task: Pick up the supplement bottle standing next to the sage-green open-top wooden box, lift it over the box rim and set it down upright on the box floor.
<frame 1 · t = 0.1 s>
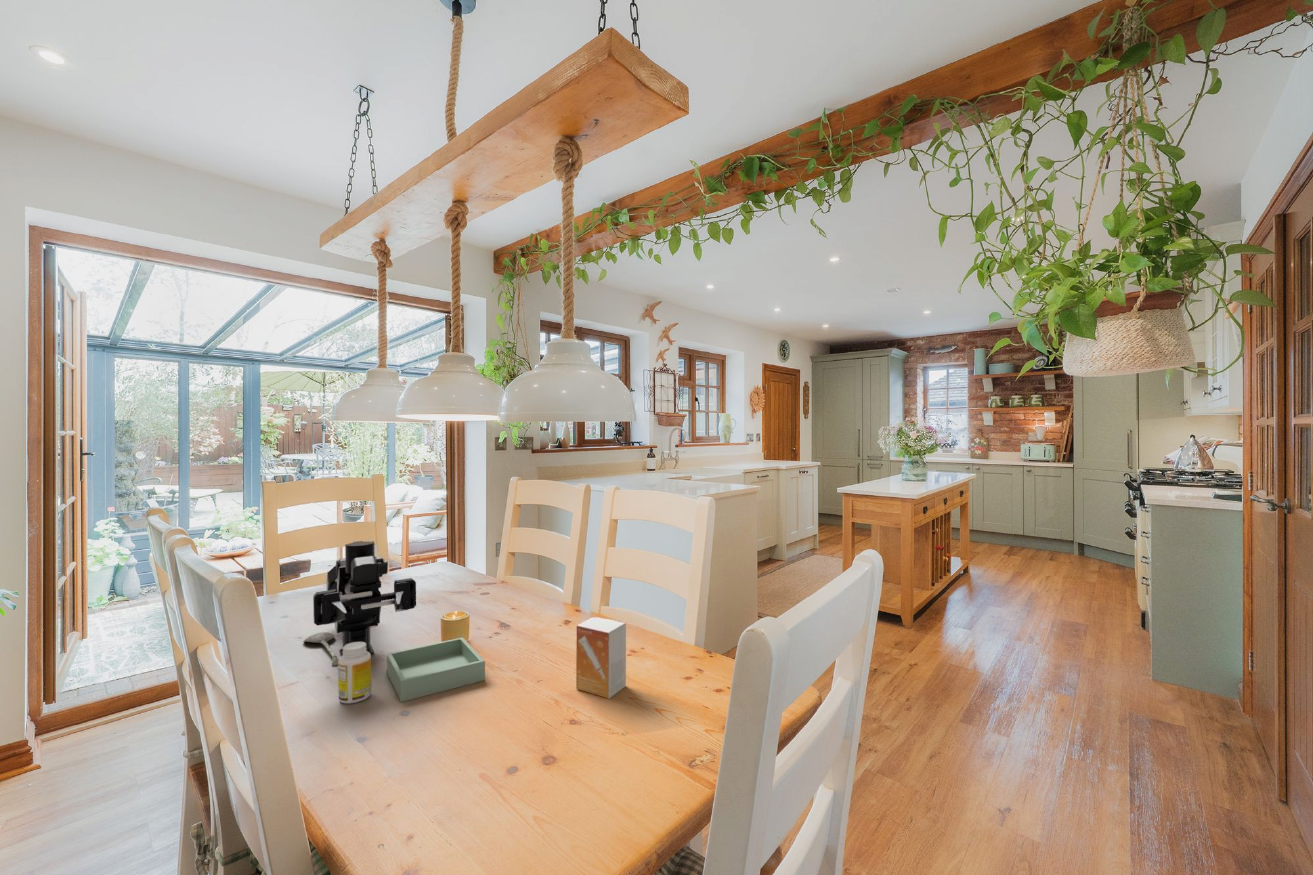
hand: (372, 611, 106), 17 cm above the table, tool horizontal, fingers open, 9 cm apart
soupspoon: (325, 653, 129), on the table
open box: (435, 675, 115), on the table
small box: (601, 689, 110), on the table
supplement bottle: (355, 698, 106), on the table
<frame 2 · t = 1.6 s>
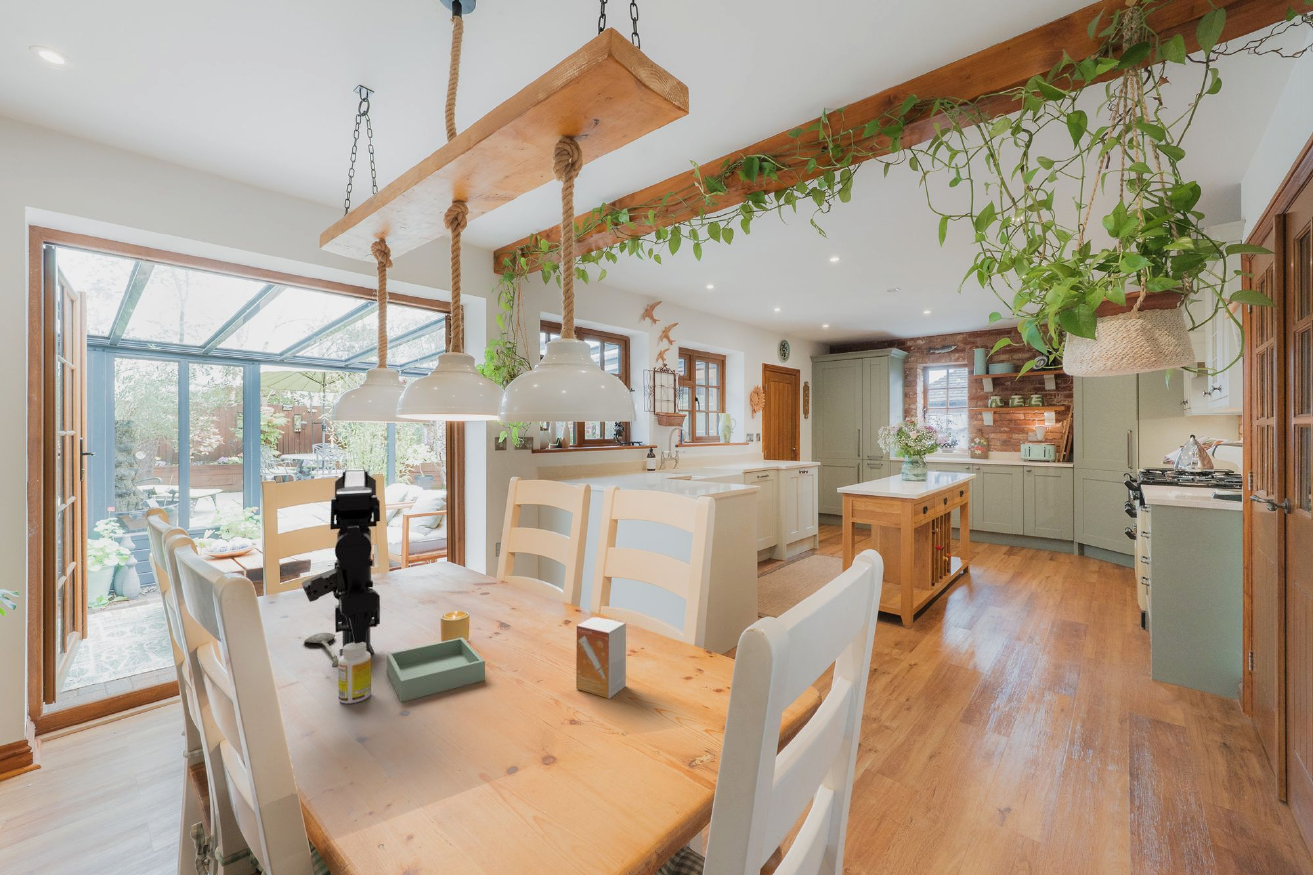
hand: (354, 635, 106), 12 cm above the table, tool pointing down, fingers open, 9 cm apart
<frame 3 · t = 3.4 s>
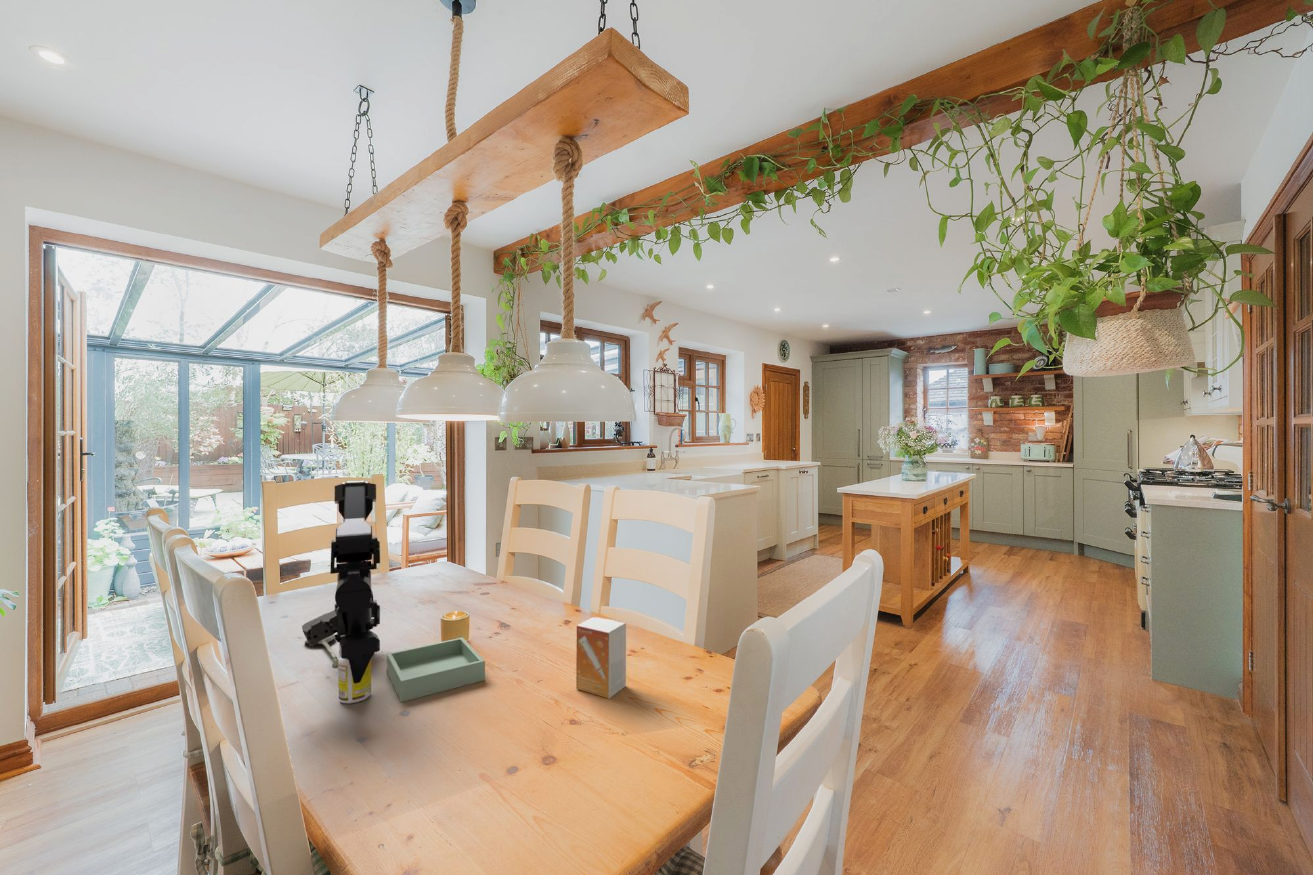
hand: (355, 677, 106), 4 cm above the table, tool pointing down, fingers closed on supplement bottle, 5 cm apart
supplement bottle: (355, 698, 106), on the table, touching gripper
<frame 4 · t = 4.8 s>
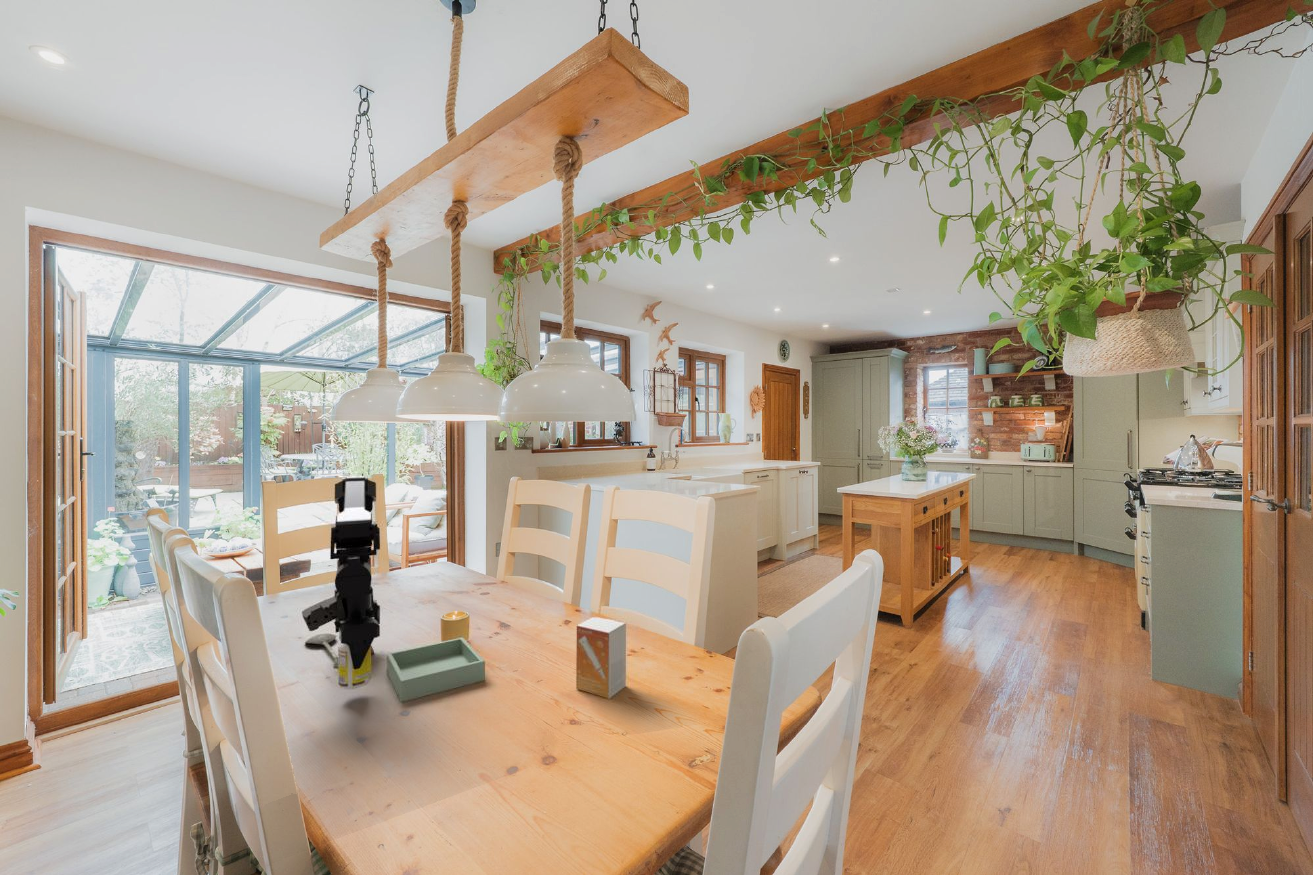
hand: (355, 663, 106), 7 cm above the table, tool pointing down, fingers closed on supplement bottle, 5 cm apart
supplement bottle: (355, 684, 106), point 2 cm above the table, touching gripper
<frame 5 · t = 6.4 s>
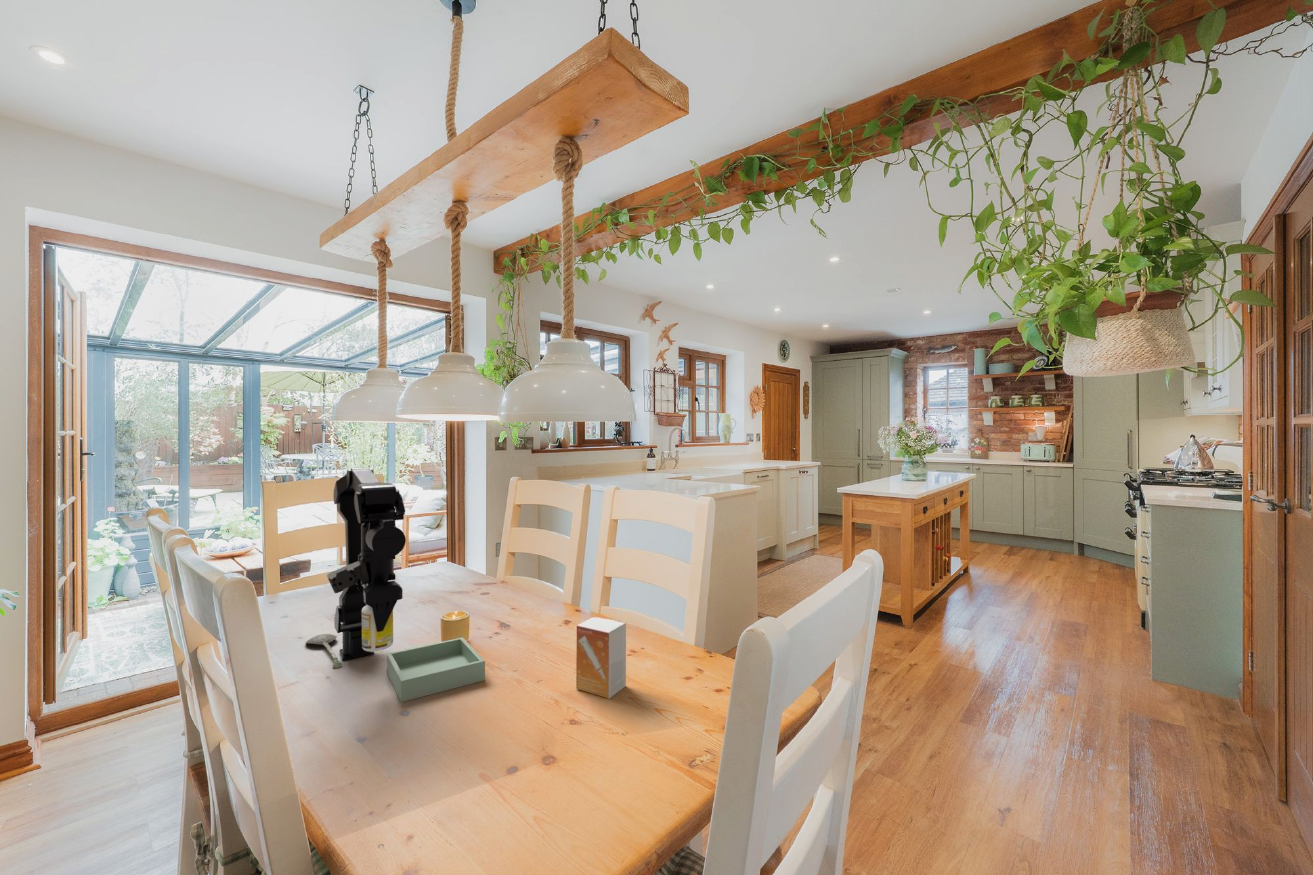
hand: (377, 626, 108), 13 cm above the table, tool pointing down, fingers closed on supplement bottle, 5 cm apart
supplement bottle: (377, 648, 108), point 9 cm above the table, touching gripper
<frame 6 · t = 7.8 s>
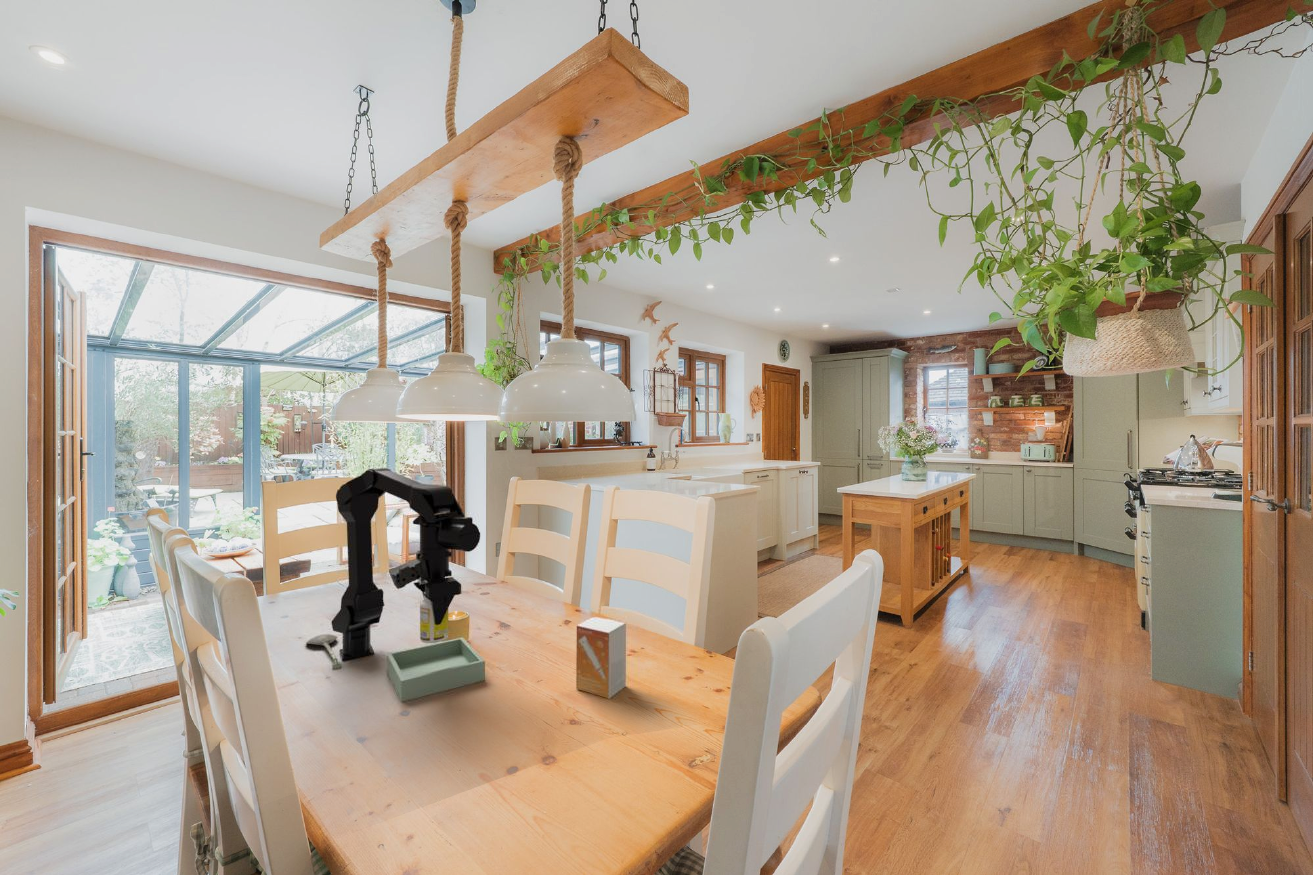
hand: (434, 620, 115), 12 cm above the table, tool pointing down, fingers closed on supplement bottle, 5 cm apart
supplement bottle: (434, 640, 115), point 8 cm above the table, touching gripper
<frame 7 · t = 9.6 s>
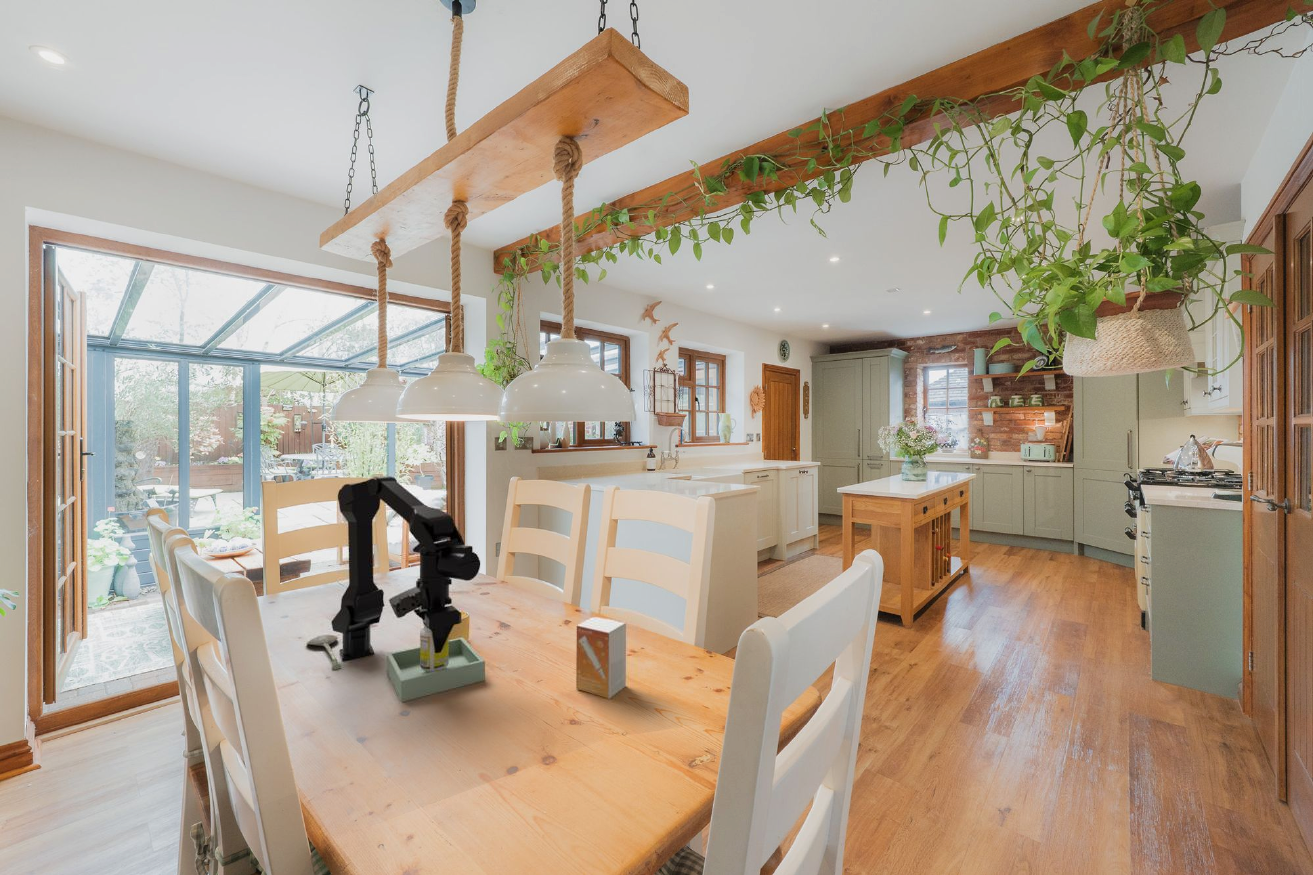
hand: (434, 648, 115), 6 cm above the table, tool pointing down, fingers closed on supplement bottle, 5 cm apart
supplement bottle: (434, 668, 115), point 2 cm above the table, touching gripper
when the fingers open (6 cm above the table, at t = 9.8 s): supplement bottle stays where it is, resting on open box.
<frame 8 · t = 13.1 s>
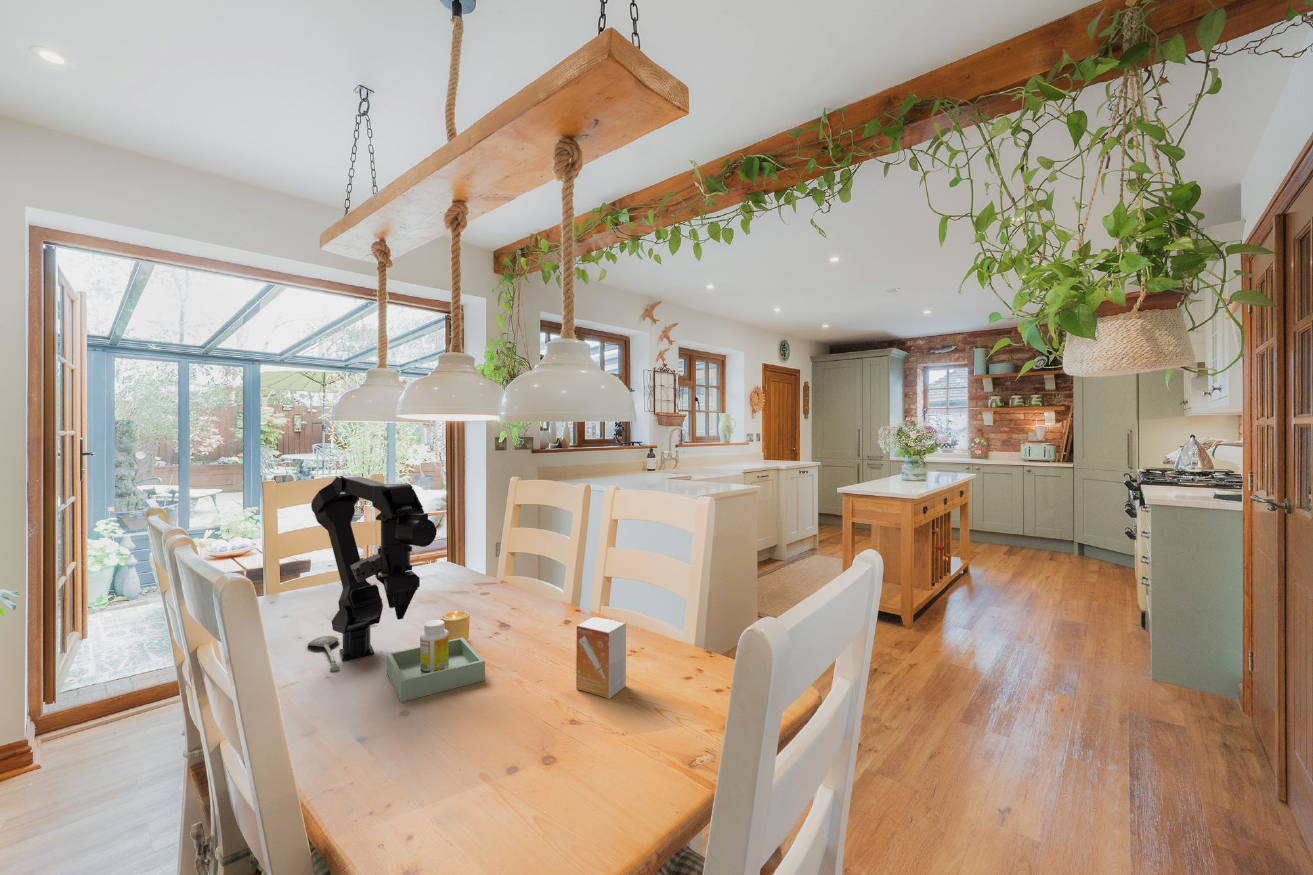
hand: (395, 613, 119), 12 cm above the table, tool pointing down, fingers open, 9 cm apart
supplement bottle: (434, 672, 115), point 1 cm above the table, touching open box
at the end: supplement bottle inside the target area on the open box (0.1 cm from its centre), point 0.8 cm above the open box's base; supplement bottle tilted 0°; the gripper is holding nothing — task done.
